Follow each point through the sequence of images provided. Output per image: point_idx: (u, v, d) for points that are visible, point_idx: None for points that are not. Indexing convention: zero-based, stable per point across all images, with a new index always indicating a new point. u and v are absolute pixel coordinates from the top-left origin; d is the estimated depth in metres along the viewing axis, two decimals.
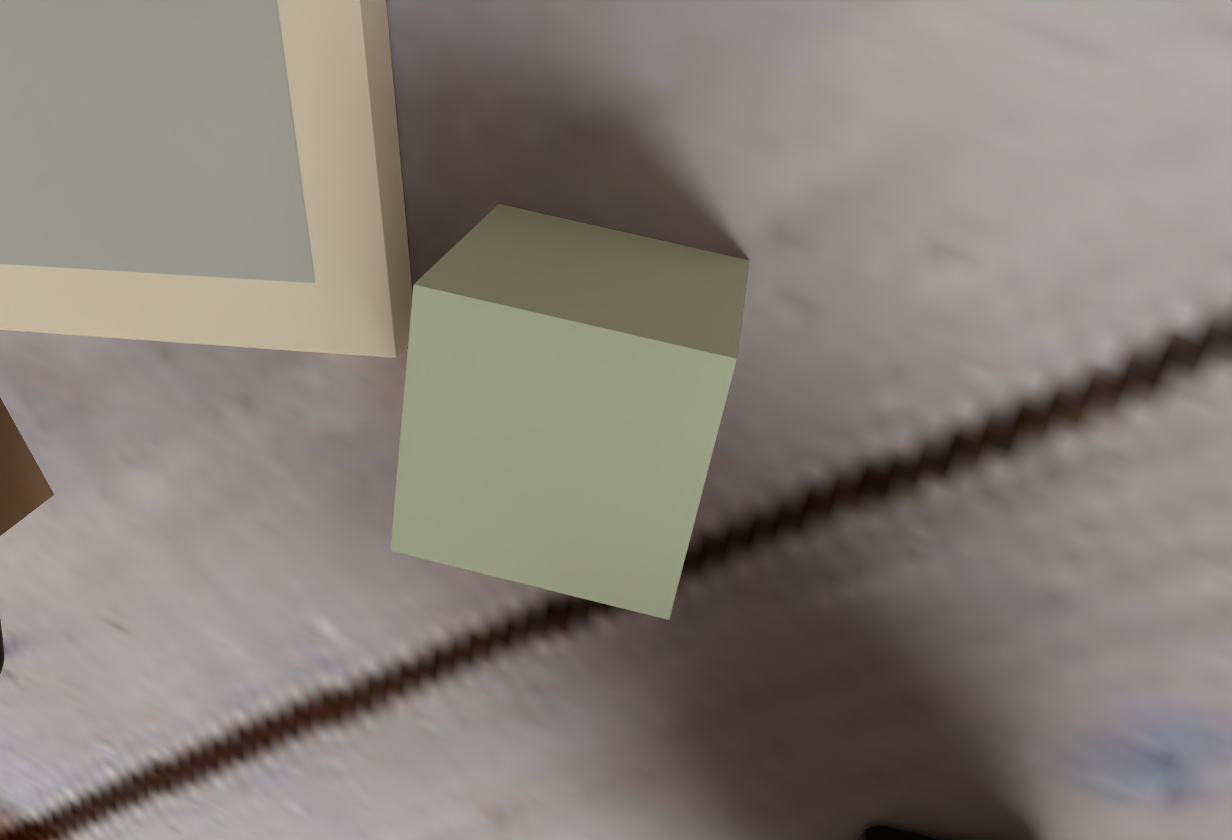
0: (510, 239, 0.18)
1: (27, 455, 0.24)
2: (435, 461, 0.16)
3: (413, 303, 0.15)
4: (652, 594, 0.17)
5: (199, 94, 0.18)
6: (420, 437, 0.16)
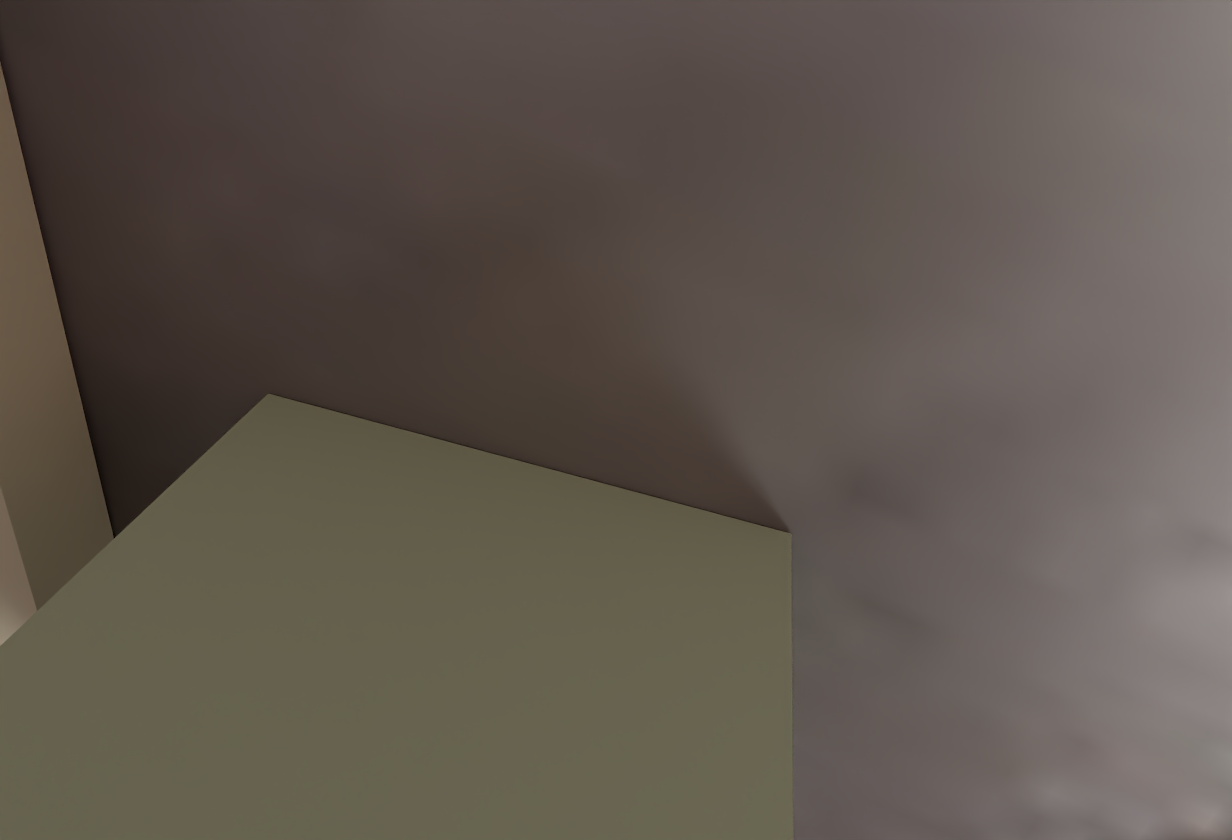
0: (242, 531, 0.07)
1: None
2: None
3: None
4: None
5: None
6: None
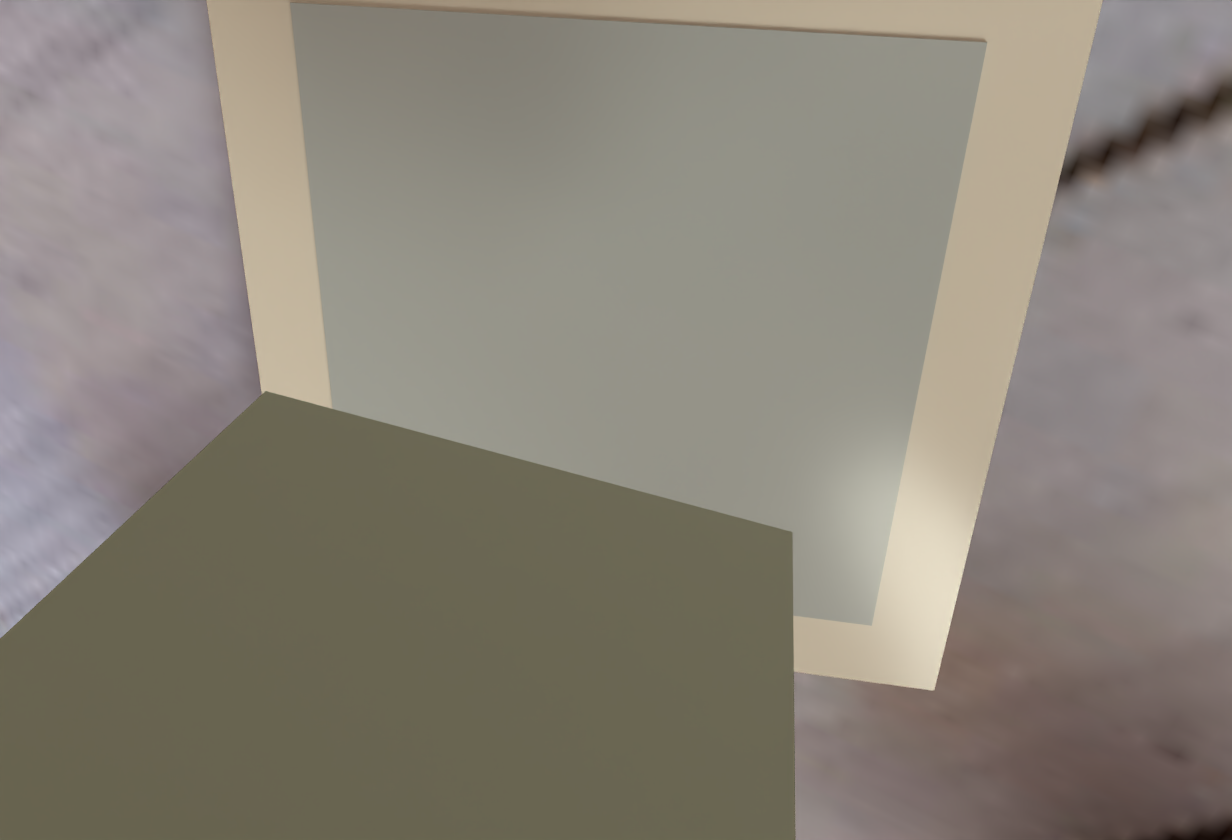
0: (237, 530, 0.07)
1: None
2: None
3: None
4: None
5: (807, 466, 0.18)
6: None
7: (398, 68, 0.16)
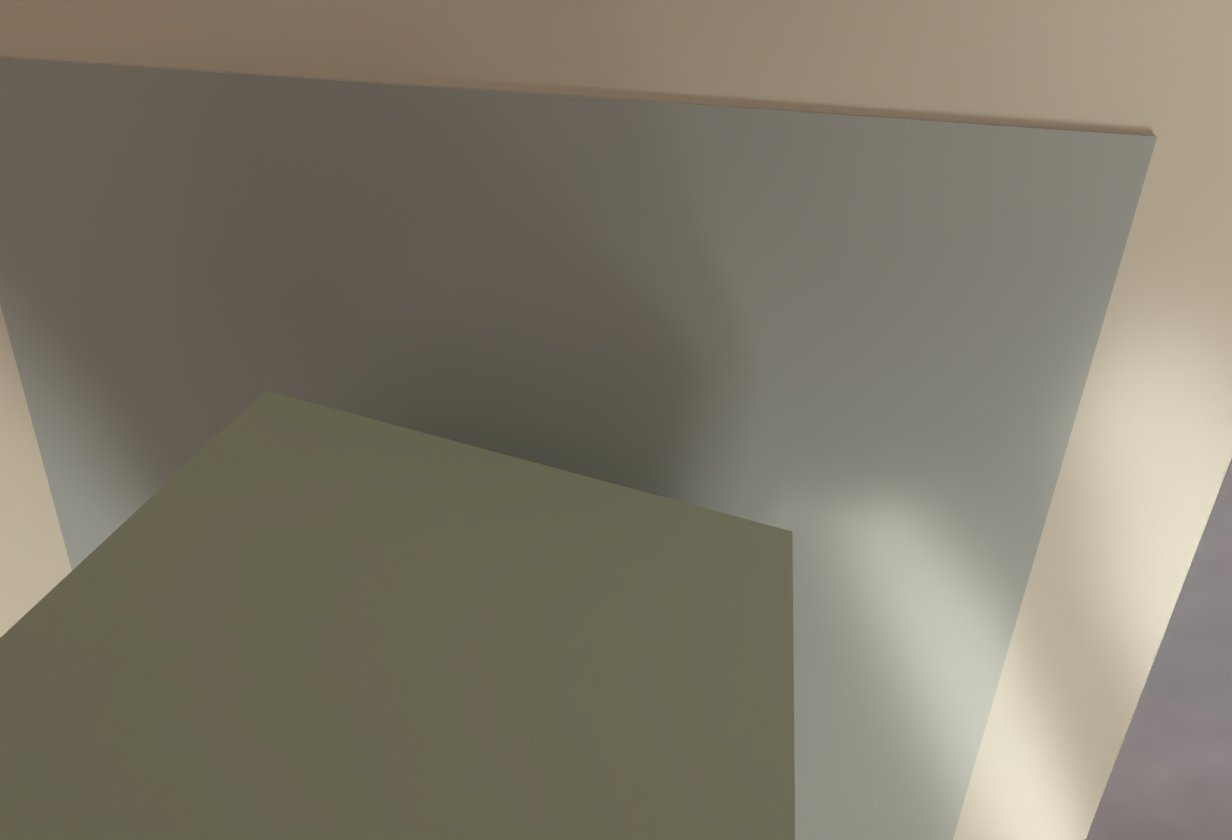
0: (237, 528, 0.07)
1: None
2: None
3: None
4: None
5: (819, 768, 0.12)
6: None
7: (130, 164, 0.10)
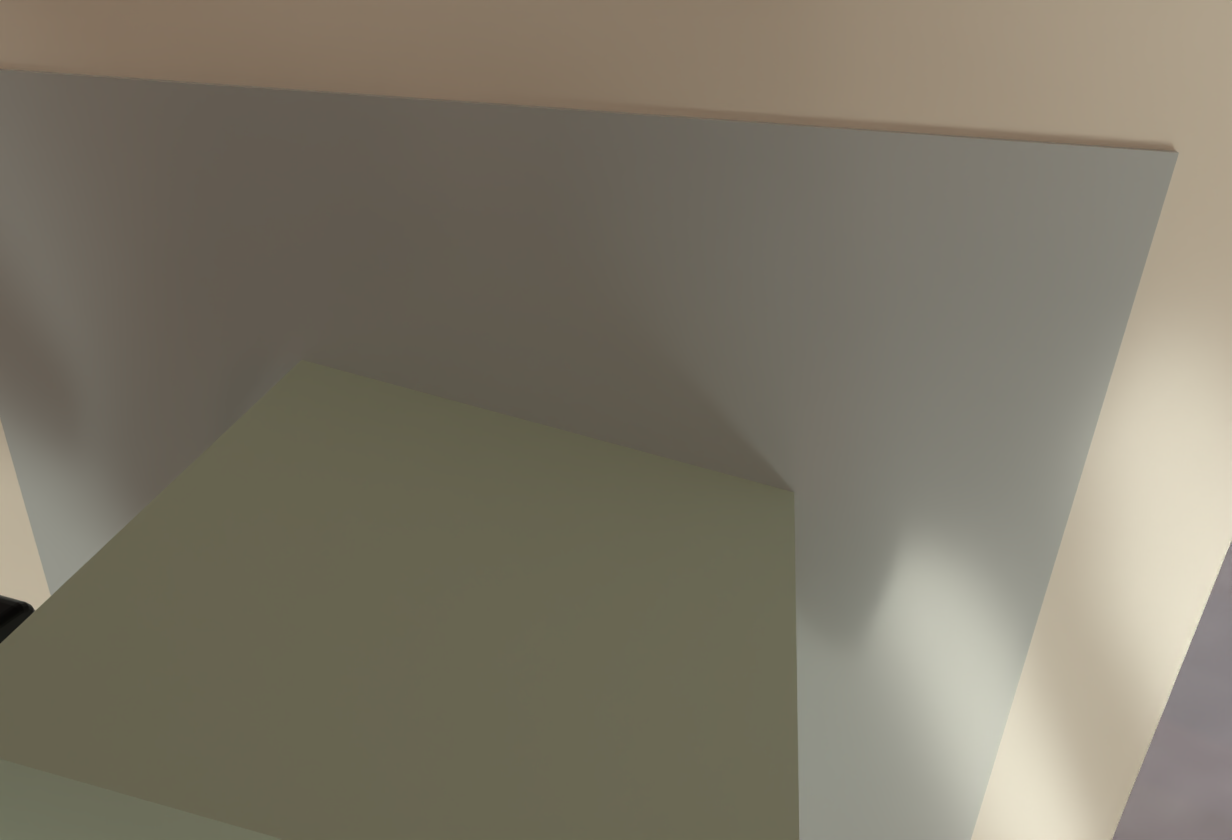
0: (284, 481, 0.08)
1: None
2: None
3: None
4: None
5: (822, 800, 0.11)
6: None
7: (106, 178, 0.09)
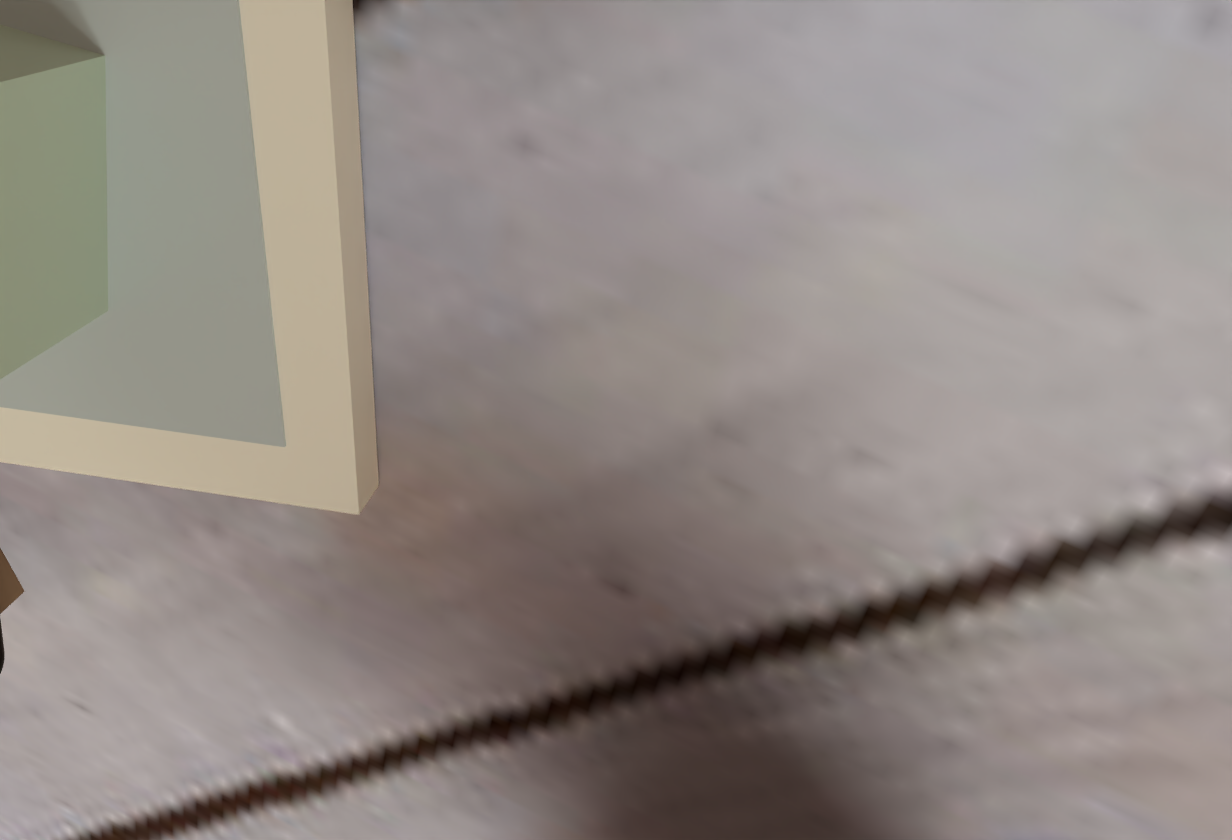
0: None
1: (0, 557, 0.25)
2: None
3: None
4: None
5: (183, 281, 0.19)
6: None
7: None
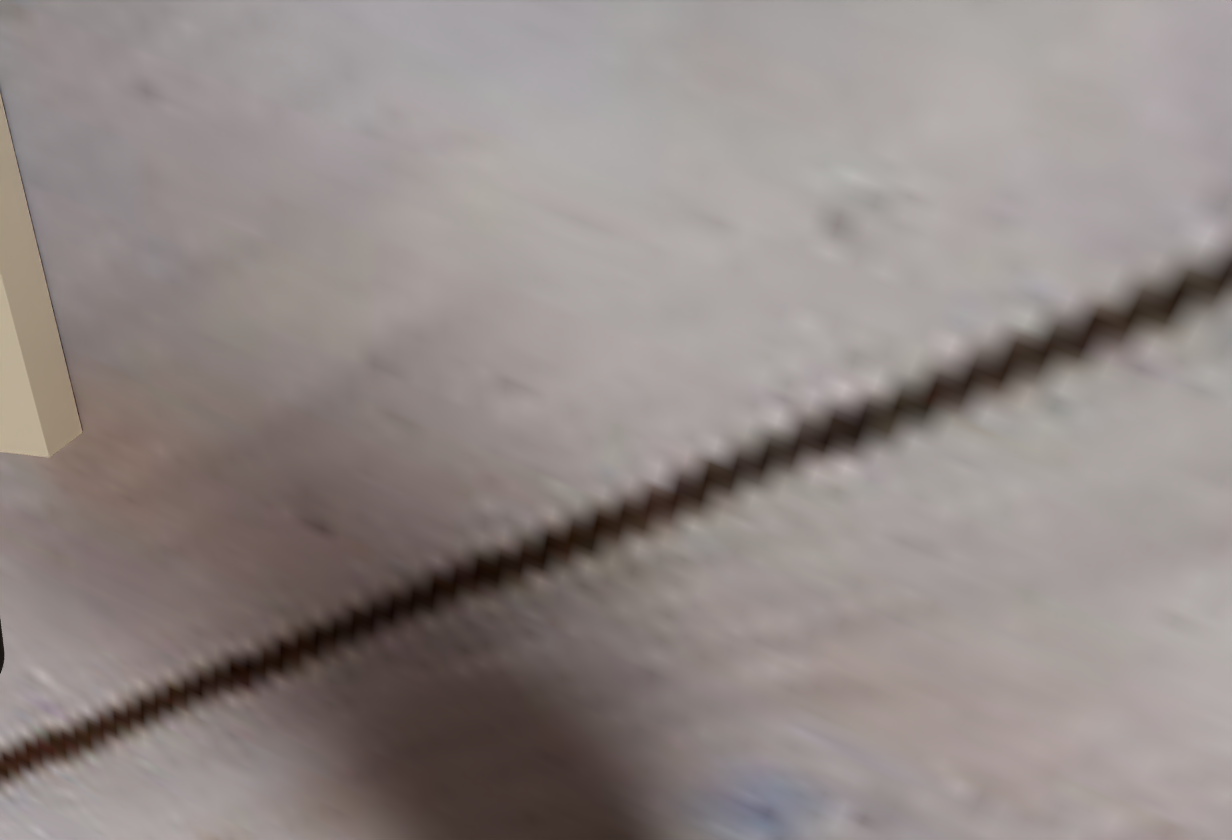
0: None
1: None
2: None
3: None
4: None
5: None
6: None
7: None
